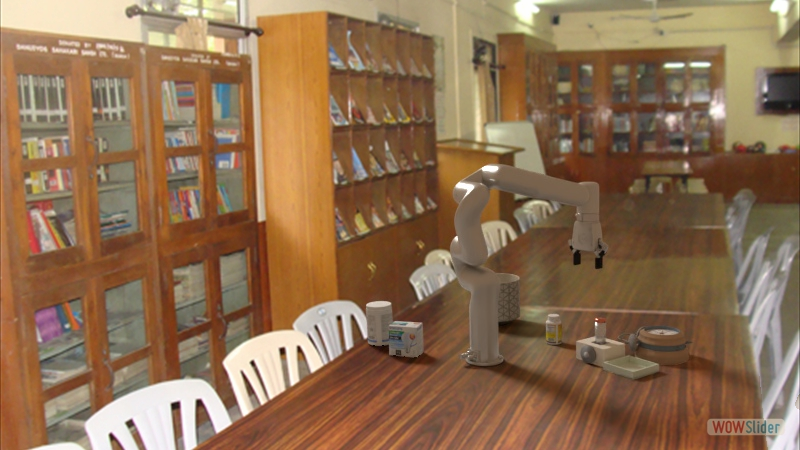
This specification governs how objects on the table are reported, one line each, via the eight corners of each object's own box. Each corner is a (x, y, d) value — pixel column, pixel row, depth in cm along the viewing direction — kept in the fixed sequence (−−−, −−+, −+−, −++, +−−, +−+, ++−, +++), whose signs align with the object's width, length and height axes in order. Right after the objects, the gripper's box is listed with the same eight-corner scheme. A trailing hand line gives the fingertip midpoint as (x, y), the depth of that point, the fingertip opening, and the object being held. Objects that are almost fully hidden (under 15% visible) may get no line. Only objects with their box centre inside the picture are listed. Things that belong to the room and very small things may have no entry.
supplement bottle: (559, 340, 281) (559, 312, 280) (563, 344, 276) (563, 316, 274) (544, 341, 281) (543, 313, 279) (548, 345, 275) (548, 317, 274)
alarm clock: (680, 340, 246) (610, 330, 260) (680, 368, 247) (609, 357, 261) (696, 327, 260) (628, 318, 273) (695, 354, 261) (627, 344, 274)
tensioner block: (599, 368, 249) (600, 350, 248) (572, 359, 259) (572, 342, 258) (624, 361, 256) (625, 343, 255) (597, 352, 266) (597, 335, 265)
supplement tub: (393, 338, 290) (392, 300, 288) (394, 346, 281) (392, 306, 279) (367, 339, 290) (365, 301, 288) (367, 347, 281) (365, 307, 279)
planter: (497, 332, 294) (497, 285, 292) (461, 323, 309) (460, 278, 306) (530, 322, 307) (529, 277, 304) (494, 314, 321) (493, 271, 318)
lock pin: (600, 353, 255) (600, 320, 253) (592, 350, 258) (592, 318, 256) (608, 351, 257) (608, 318, 255) (599, 348, 260) (600, 316, 258)
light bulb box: (388, 355, 270) (387, 325, 269) (395, 350, 276) (394, 320, 275) (417, 358, 266) (417, 327, 265) (424, 352, 273) (423, 322, 271)
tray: (633, 379, 238) (633, 372, 238) (603, 370, 248) (603, 362, 247) (658, 371, 244) (659, 364, 244) (628, 362, 254) (628, 355, 254)
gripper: (561, 216, 273) (561, 264, 276) (600, 221, 259) (600, 271, 262) (576, 214, 278) (576, 261, 280) (615, 218, 264) (614, 268, 266)
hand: (587, 266), depth 271 cm, fingers open, 9 cm apart
